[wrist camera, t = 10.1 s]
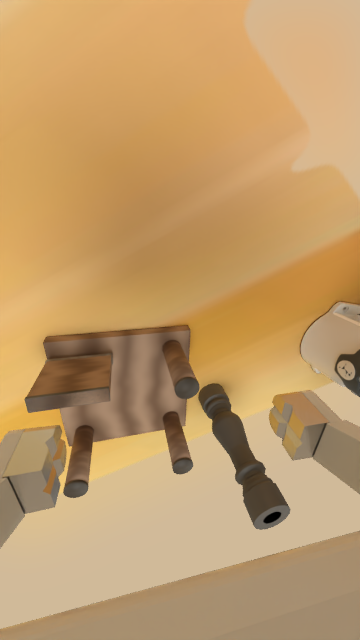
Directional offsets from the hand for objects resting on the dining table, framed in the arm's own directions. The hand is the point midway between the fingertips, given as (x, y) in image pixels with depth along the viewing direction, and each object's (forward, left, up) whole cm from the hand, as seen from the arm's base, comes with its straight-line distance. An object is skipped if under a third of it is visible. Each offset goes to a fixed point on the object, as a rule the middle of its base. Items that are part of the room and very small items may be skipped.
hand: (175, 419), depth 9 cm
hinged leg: (+10, +17, -30) cm, 35 cm away
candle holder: (-16, +32, -33) cm, 49 cm away
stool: (+3, +26, -33) cm, 42 cm away
